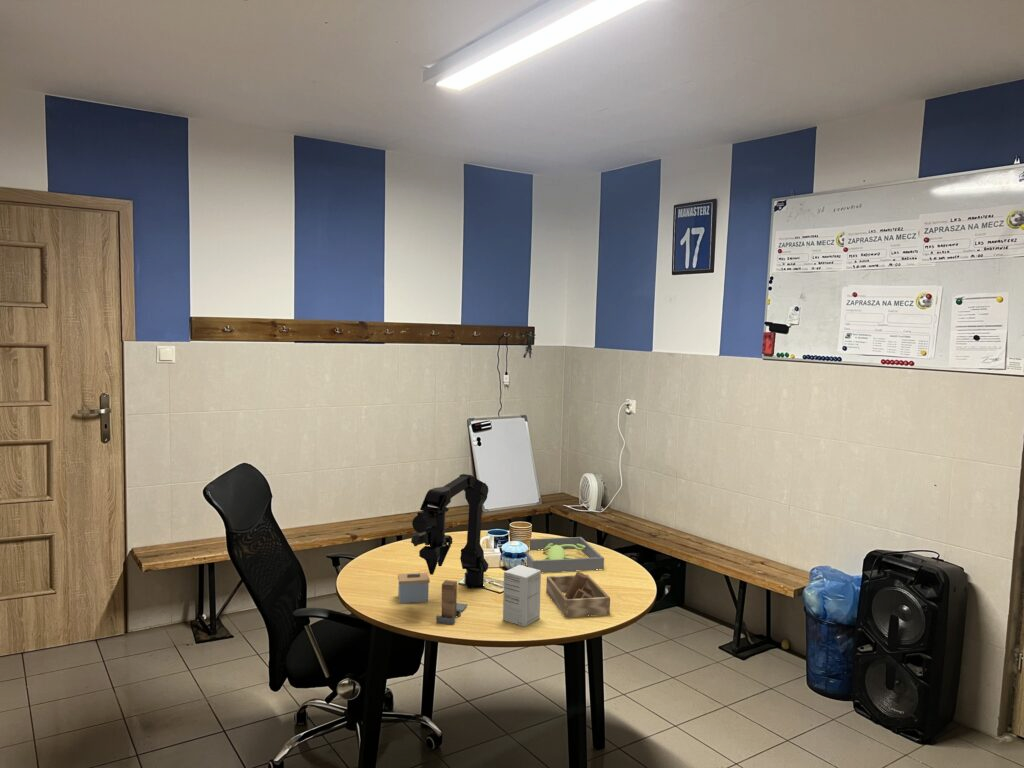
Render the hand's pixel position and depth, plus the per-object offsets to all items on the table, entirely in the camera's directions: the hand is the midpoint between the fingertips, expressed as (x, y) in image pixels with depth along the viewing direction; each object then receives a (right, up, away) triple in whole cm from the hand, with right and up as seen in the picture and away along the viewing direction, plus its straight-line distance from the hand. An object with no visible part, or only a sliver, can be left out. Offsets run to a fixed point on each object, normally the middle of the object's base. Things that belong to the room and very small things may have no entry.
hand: (435, 570), depth 259 cm
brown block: (+5, -14, -9) cm, 18 cm away
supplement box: (+30, -15, -8) cm, 34 cm away
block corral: (+50, -14, +8) cm, 52 cm away
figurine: (+47, -10, +57) cm, 74 cm away
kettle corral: (+46, -10, +56) cm, 73 cm away
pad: (+7, -13, 0) cm, 15 cm away
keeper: (+5, -14, -9) cm, 18 cm away
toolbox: (-9, -12, +8) cm, 17 cm away
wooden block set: (+50, -14, +8) cm, 53 cm away
